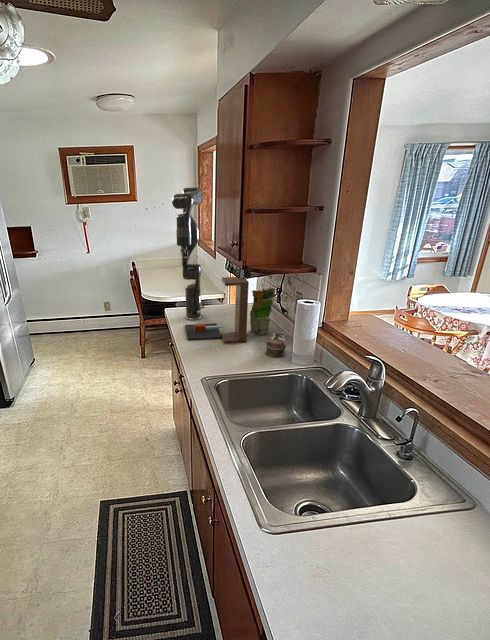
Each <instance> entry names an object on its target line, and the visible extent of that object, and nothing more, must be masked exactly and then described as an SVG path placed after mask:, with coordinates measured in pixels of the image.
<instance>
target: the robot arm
mask: <svg viewBox="0 0 490 640" xmlns="http://www.w3.org/2000/svg"><path fill="white" fill-rule="evenodd" d="M202 191H203V190H202V189H201V188H200V187H198V186H192V187H191V186H190V187H184V188H183V189H182V193H176V194H174V195H173V196H172V198H171V204H172V206H173V207H174V209H175V210H182V213H179V214H176V218H175V219H176V234H175V235H176V246H178V247H180V248H179V250H180V256H181V266H182V269H181V270H182V271H181V272H182V278H183V280H185V281H193V282H191V283H189V284H187V285H185V287H184V288H185V318H186V320H189V321H196V320H200V319H202V309H203V308H205V305H204V304H203V303H202V297H201V295H202V293H201V291H202V290H201V277H202V268H201V265H200V264H199V263H189V262H190V258H191V255H192V254H193V252H194V250H195V248H196V247H197V245H198V243H199V240H200V237H199V236H200V228H199V226H198V224H197V222H196V221H195V219H194V218H193V216H192V210H193V206H196V205H200V204H201V203H202V201H203V192H202Z"/></svg>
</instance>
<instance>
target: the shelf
mask: <svg viewBox="0 0 490 640" xmlns="http://www.w3.org/2000/svg"><path fill="white" fill-rule="evenodd" d="M238 277H239V276H226V277H224V276H223V277H221V282H222V284H223V285H224V287H235V300H234V301H235V302H234V303H235V306H234V307H235V308H234V310H235V311H234V331H232V332H229V331H227V332H220V335H221V339H222V341H223V344H243V343H247V329H248V309H249V307H248V305H249V304H248V303H249V284H250V282H249V280H248V279H247V278H246V277H245V279H241V278H238Z"/></svg>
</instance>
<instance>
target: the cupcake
mask: <svg viewBox="0 0 490 640" xmlns="http://www.w3.org/2000/svg"><path fill="white" fill-rule="evenodd" d="M286 341H287V340H286V339H285V334H283V333H276V332H274V333H272V335H271V336H270V337H269V338H268V339H267V342H266V343H265V348H266V354H267V356H269V357H272V358H281V357H283V356H284V354H285V350H286V348H287V342H286Z"/></svg>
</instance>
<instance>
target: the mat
mask: <svg viewBox="0 0 490 640" xmlns="http://www.w3.org/2000/svg"><path fill="white" fill-rule="evenodd" d="M204 324H205V326H218V325H217V323H216V322H215V323H204ZM185 331H186V336H187V341H202V340H219V339H220V340H221V339H222V337H221V332H220V330H219V329H206V332H195V331H194V324H185Z"/></svg>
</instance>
